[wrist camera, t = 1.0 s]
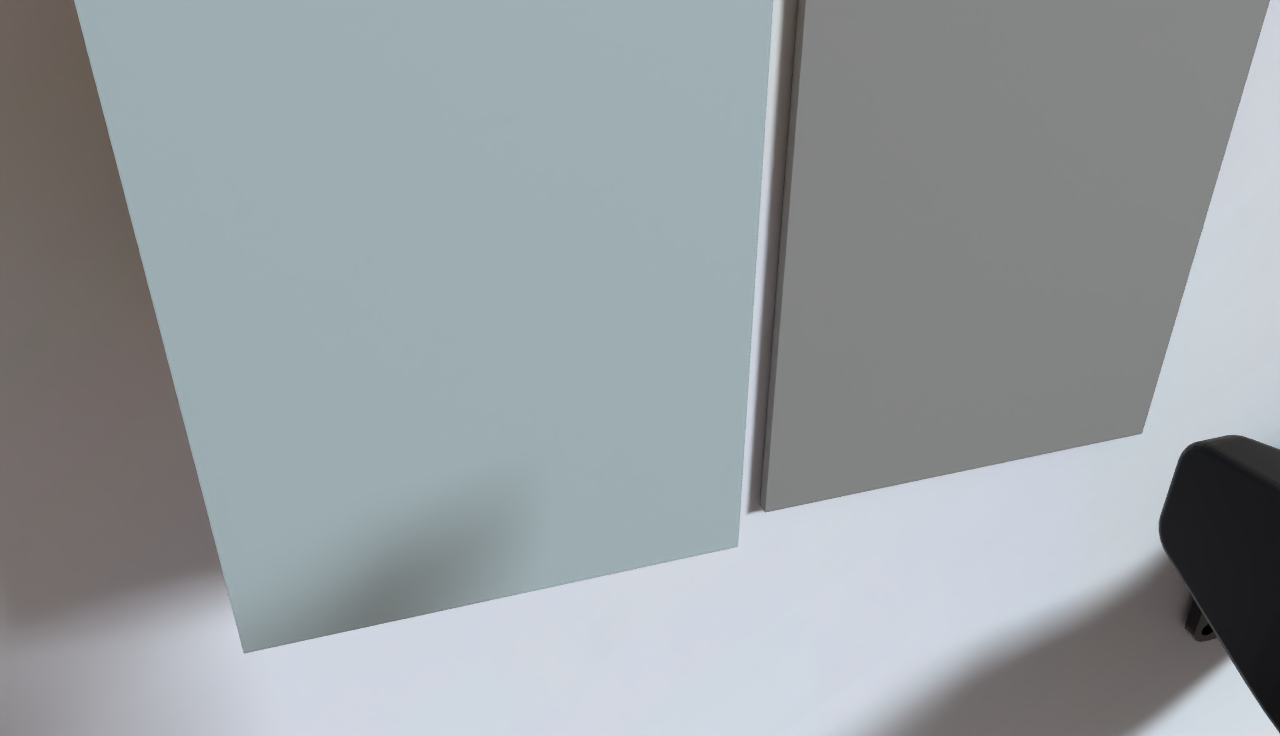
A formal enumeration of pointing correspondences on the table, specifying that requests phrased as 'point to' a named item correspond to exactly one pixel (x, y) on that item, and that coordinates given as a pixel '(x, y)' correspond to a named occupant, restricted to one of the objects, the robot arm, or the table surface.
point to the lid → (445, 284)
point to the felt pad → (987, 227)
